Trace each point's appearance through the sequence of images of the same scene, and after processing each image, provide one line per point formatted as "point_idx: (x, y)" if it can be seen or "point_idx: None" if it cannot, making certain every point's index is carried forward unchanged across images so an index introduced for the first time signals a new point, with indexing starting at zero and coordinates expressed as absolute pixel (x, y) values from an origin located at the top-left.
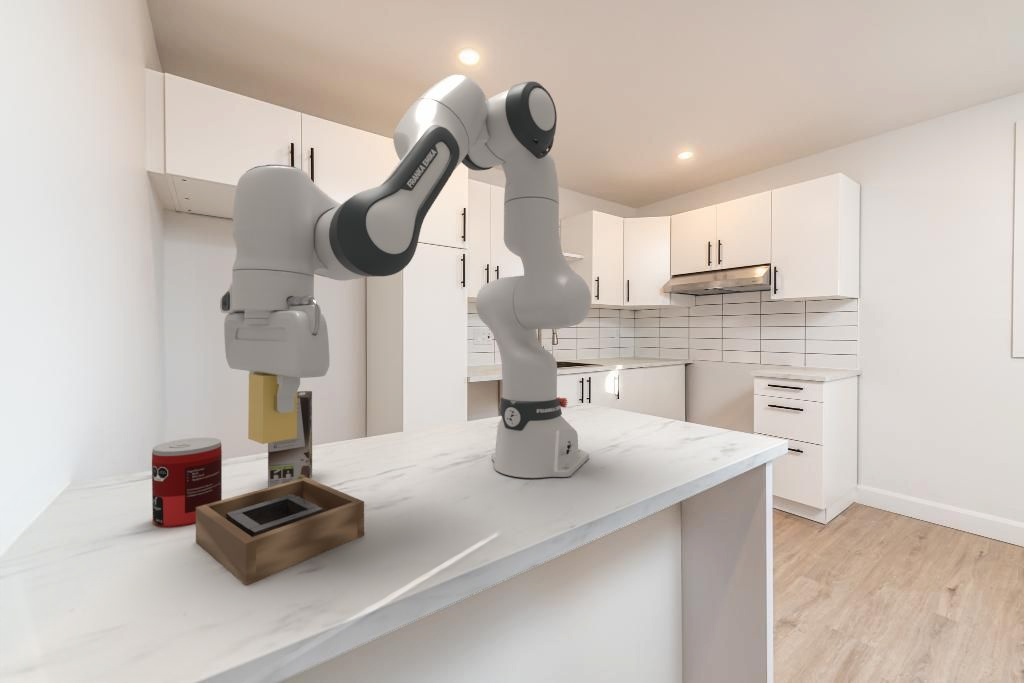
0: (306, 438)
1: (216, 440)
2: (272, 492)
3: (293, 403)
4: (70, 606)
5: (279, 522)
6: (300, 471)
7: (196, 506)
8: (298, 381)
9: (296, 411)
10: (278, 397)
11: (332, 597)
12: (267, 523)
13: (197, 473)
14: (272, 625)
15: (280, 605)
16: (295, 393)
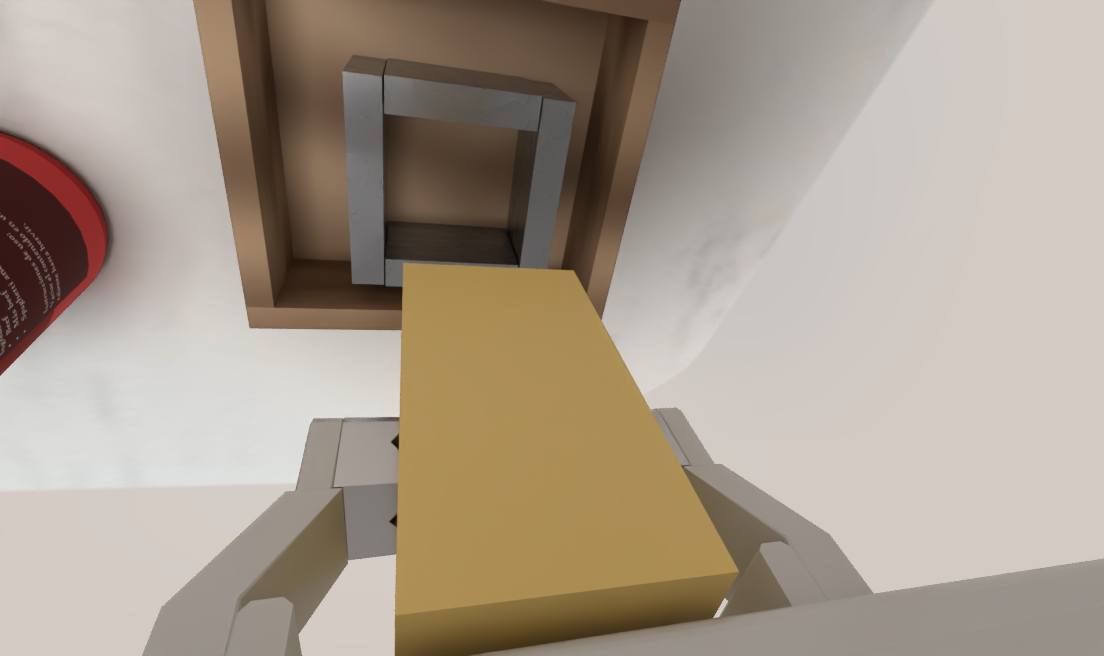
0: None
1: None
2: (250, 101)
3: (692, 435)
4: None
5: (545, 231)
6: None
7: (80, 257)
8: (836, 558)
9: (615, 352)
10: None
11: (728, 207)
12: (523, 251)
13: (8, 317)
14: (689, 295)
15: (662, 267)
16: (748, 486)
